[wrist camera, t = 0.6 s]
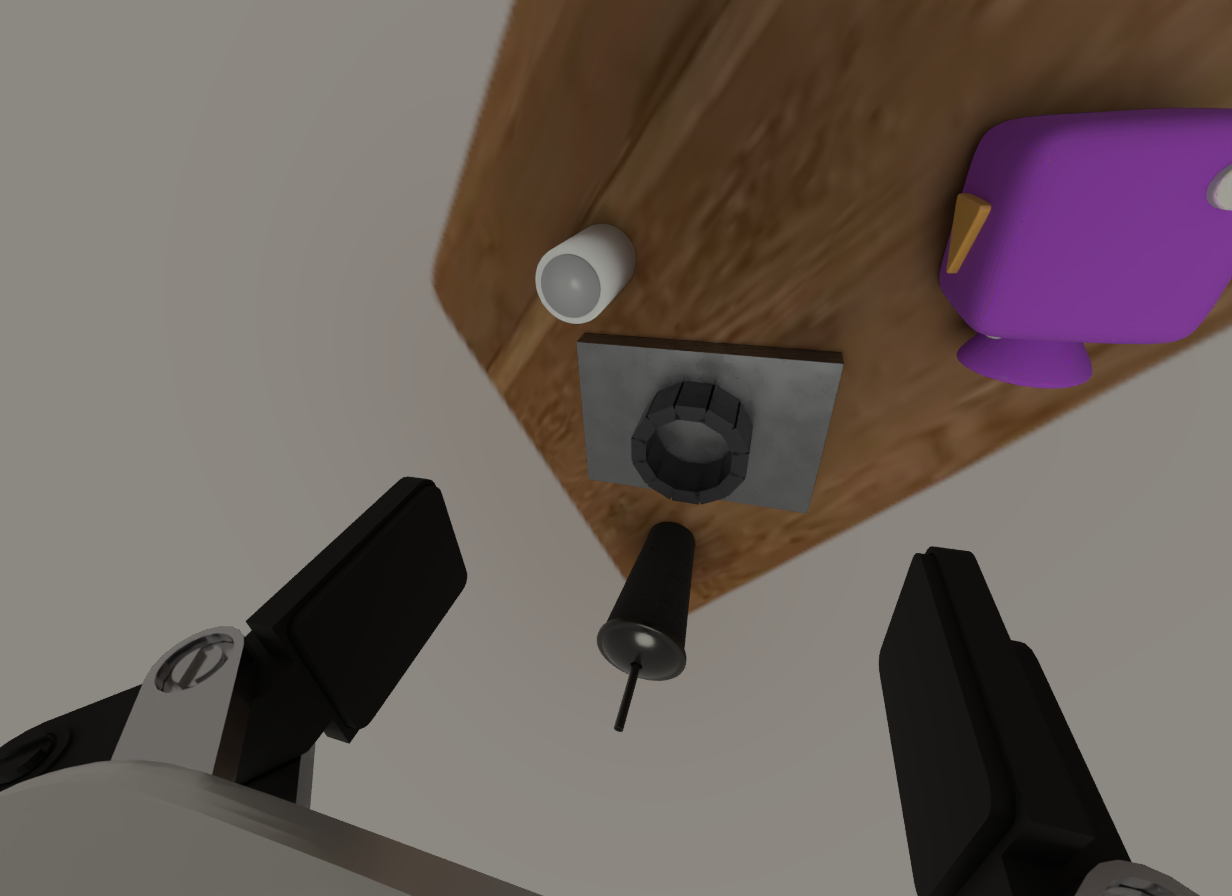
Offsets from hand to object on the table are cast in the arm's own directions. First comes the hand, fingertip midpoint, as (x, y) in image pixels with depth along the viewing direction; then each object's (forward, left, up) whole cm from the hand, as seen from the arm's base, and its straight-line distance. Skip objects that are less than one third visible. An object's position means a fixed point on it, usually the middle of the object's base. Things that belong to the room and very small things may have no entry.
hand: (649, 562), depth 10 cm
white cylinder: (+2, -11, -30) cm, 32 cm away
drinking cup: (+30, -5, -31) cm, 43 cm away
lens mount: (+15, -3, -30) cm, 34 cm away
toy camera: (0, +16, -31) cm, 35 cm away
